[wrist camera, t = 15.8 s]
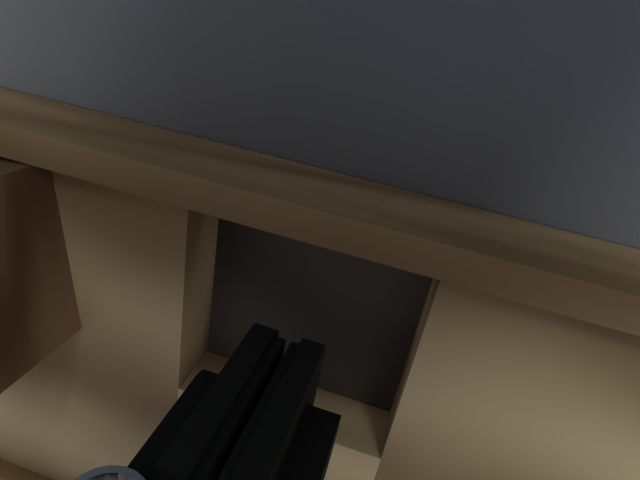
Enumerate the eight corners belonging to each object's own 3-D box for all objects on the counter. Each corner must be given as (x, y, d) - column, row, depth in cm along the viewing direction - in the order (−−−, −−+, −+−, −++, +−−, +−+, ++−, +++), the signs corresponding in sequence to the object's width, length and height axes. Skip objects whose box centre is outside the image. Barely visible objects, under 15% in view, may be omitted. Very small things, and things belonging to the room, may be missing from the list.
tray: (-216, 31, 15) (-421, 35, 12) (774, 283, 11) (928, 413, 7) (-115, 373, 21) (-229, 442, 18) (538, 623, 17) (558, 781, 13)
